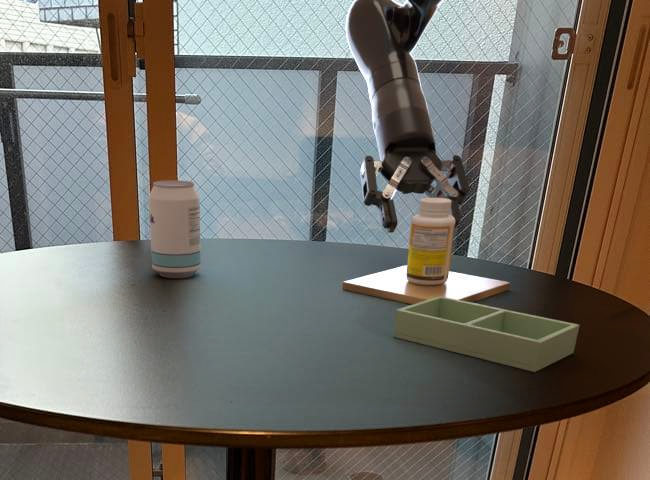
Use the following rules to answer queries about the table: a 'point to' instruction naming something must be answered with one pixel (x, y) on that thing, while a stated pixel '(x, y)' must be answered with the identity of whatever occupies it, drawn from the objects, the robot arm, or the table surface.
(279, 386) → the table surface
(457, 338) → the divided tray
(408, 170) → the robot arm
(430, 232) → the supplement bottle
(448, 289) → the mat
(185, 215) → the beverage can
